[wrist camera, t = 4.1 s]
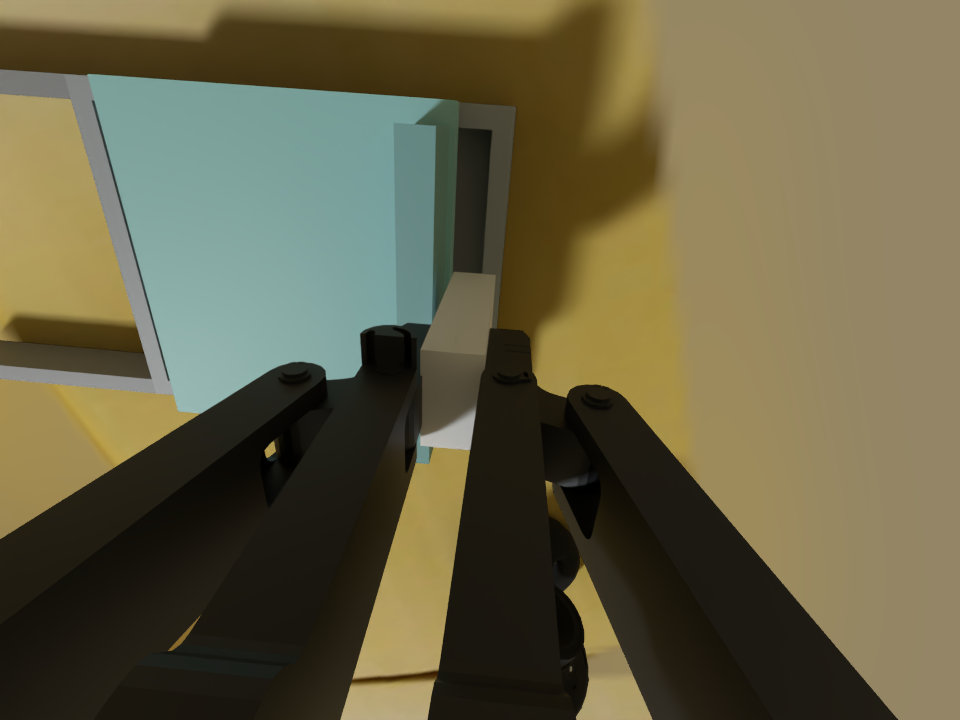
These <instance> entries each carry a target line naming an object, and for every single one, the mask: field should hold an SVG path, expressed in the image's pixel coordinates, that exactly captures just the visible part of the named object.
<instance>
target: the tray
mask: <svg viewBox="0 0 960 720" xmlns="http://www.w3.org/2000/svg"><path fill="white" fill-rule="evenodd" d="M0 94H10V95H24V96H37V97H51V98H65V99H71V101H72V105H73V108H74V112H75V115H76V118H77V122H78V125H79V129H80V132H81V136H82V139H83V143H84V146H85V150H86V153H87V156H88V160H89V163H90V167H91V170H92V174H93V177H94V181H95V184H96V188H97V191H98V194H99V198H100V201H101V205H102V208H103V212H104V215H105V219H106V222H107V226H108V229H109V232H110V236H111V239H112V243H113V246H114V250H115V253H116V257H117V260H118V264H119V267H120V270H121V274H122V277H123V281H124V284H125V288H126V291H127V295H128V298H129V302H130V305H131V308H132V312H133V315H134V319H135V322H136V326H137V329H138V333H139V336H140V340H141V343H142V346H143V350H144V353H135V352H124V351H113V350H102V349H90V348H79V347H68V346H57V345H46V344H35V343H24V342H13V341H2V340H0V379H8V380H18V381H29V382H39V383H50V384H61V385H71V386H82V387H93V388H104V389H114V390H125V391H136V392H147V393H157V394H168V395H174V394H173V390H172V386H171V382H170V379H169V375H168V371H167V368H166V364H165V360H164V357H163V353H162V349H161V345H160V342H159V338H158V334H157V331H156V327H155V323H154V320H153V316H152V312H151V308H150V305H149V301H148V297H147V294H146V290H145V286H144V282H143V279H142V275H141V271H140V268H139V264H138V260H137V257H136V253H135V249H134V245H133V242H132V238H131V234H130V231H129V227H128V223H127V219H126V216H125V212H124V208H123V205H122V201H121V197H120V194H119V190H118V186H117V182H116V179H115V175H114V171H113V168H112V164H111V160H110V156H109V153H108V149H107V145H106V142H105V138H104V134H103V131H102V127H101V123H100V119H99V116H98V112H97V108H96V105H95V101H94V97H93V94H92V90H91V86H90V82H89V79H88V76H86V75H72V74H58V73H44V72H30V71H16V70H2V69H0ZM515 117H516V106H503V105H489V104H476V103H462V102H459V126H458V151H457V176H456V201H455V226H454V251H453V273H454V272H464V273H477V274H490V275H496V277H495V290H494V303H493V316H492V328H496V329H497V320H498V309H499V298H500V286H501V275H502V264H503V252H504V241H505V230H506V219H507V207H508V196H509V185H510V173H511V162H512V151H513V140H514V128H515Z"/></svg>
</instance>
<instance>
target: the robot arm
mask: <svg viewBox="0 0 960 720" xmlns="http://www.w3.org/2000/svg"><path fill="white" fill-rule="evenodd" d="M495 277H496V275H490V274H477V273H464V272H454V273H453V275H452V277H451V280H450V282H449V284H448V287H447V289H446V291H445V294H444V296H443V298H442V301H441V303H440V305H439V308H438V310H437V312H436V315H435V317H434V319H433V322H432V324H431V325H430V324H418V323H406V324H404V325H402V326H398V325H380V326H373V327H371V328H368V329H365V330H364V331H362V332H361V333H360V344H361V359H362V366H361V367H360V369H359V370H358V372H357V374H356V375H355V377H352V378H345V379H334V380H326V371H325V369H324V368H323V367H322V366H320V365H317V364H314V363H307V362H290V363H288V364H285V365H280V366H278V367H276V368H274V369H272V370H270V371H268V372H267V373H265V374H263V375H262V376H260V377H259V378H257V379H255V380H254V381H252V382H251V383H249V384H247V385H246V386H244V387H243V388H241V389H239V390H238V391H236V392H235V393H233V394H231V395H230V396H228V397H227V398H225V399H223V400H222V401H220V402H219V403H217V404H215V405H214V406H212V407H211V408H209V409H207V410H206V411H204V412H203V413H201V414H199V415H198V416H196V417H195V418H193V419H191V420H190V421H188V422H187V423H185V424H183V425H182V426H180V427H179V428H177V429H176V430H174V431H172V432H171V433H169V434H168V435H166V436H164V437H163V438H161V439H160V440H158V441H156V442H155V443H153V444H152V445H150V446H148V447H147V448H145V449H144V450H142V451H140V452H139V453H137V454H136V455H134V456H132V457H131V458H129V459H128V460H126V461H124V462H123V463H121V464H120V465H118V466H116V467H115V468H113V469H112V470H110V471H108V472H107V473H105V474H104V475H102V476H100V477H99V478H97V479H96V480H94V481H92V482H91V483H89V484H88V485H86V486H85V487H83V488H81V489H80V490H78V491H76V492H75V493H74V494H72V495H70V496H69V497H67V498H65V499H64V500H62V501H61V502H59V503H57V504H56V505H54V506H53V507H51V508H49V509H48V510H46V511H45V512H43V513H41V514H40V515H38V516H37V517H35V518H34V519H32V520H30V521H29V522H27V523H25V524H24V525H23V526H21V527H19V528H18V529H16V530H14V531H13V532H11V533H10V534H8V535H6V536H5V537H3V538H2V539H0V720H340V719H341V716H342V712H343V709H344V705H345V702H346V699H347V695H348V692H349V688H350V685H351V681H352V678H353V675H354V671H355V668H356V664H357V661H358V658H359V654H360V651H361V647H362V644H363V641H364V637H365V634H366V630H367V627H368V623H369V620H370V617H371V613H372V610H373V606H374V603H375V600H376V596H377V593H378V589H379V586H380V582H381V579H382V576H383V572H384V569H385V565H386V562H387V559H388V555H389V552H390V548H391V545H392V542H393V538H394V535H395V531H396V528H397V524H398V521H399V518H400V514H401V511H402V507H403V504H404V501H405V497H406V494H407V490H408V487H409V483H410V480H411V477H412V473H413V470H414V466H415V463H416V460H417V440H418V437H419V433H420V446H430V447H441V448H452V449H463V450H470V455H469V462H468V469H467V476H466V483H465V490H464V497H463V504H462V511H461V518H460V525H459V532H458V539H457V546H456V553H455V560H454V567H453V574H452V581H451V588H450V595H449V602H448V609H447V616H446V623H445V630H444V637H443V644H442V651H441V658H440V665H439V671H438V676H437V679H436V680H435V682H434V687H433V691H432V696H431V702H430V708H429V714H428V720H576V715H575V709H574V706H573V702H572V699H571V697H570V696H569V695H568V694H567V693H565V691H564V687H563V682H562V674H561V663H560V651H559V639H558V627H557V615H556V603H555V591H554V579H553V567H552V555H551V543H550V531H549V519H548V507H547V495H546V483H545V480H546V481H549V482H552V483H553V484H552V487H553V493H554V495H555V498H556V500H557V502H558V504H559V507H560V509H561V511H562V514H563V516H564V518H565V520H566V523H567V525H568V527H569V530H570V532H571V534H572V536H573V539H574V541H575V543H576V546H577V548H578V550H579V552H580V555H581V557H582V559H583V562H584V564H585V566H586V568H587V571H588V573H589V575H590V578H591V580H592V582H593V584H594V587H595V589H596V591H597V594H598V596H599V598H600V600H601V603H602V605H603V607H604V610H605V612H606V614H607V616H608V619H609V621H610V623H611V625H612V628H613V630H614V632H615V635H616V637H617V639H618V641H619V644H620V646H621V648H622V651H623V653H624V655H625V657H626V660H627V662H628V664H629V667H630V669H631V671H632V673H633V676H634V678H635V680H636V683H637V685H638V687H639V689H640V692H641V694H642V696H643V699H644V701H645V703H646V705H647V708H648V710H649V712H650V715H651V717H652V719H653V720H898V719H897V718H896V717H895V716H894V714H893V713H892V712H891V711H890V710H889V709H888V707H887V706H886V705H885V704H884V703H883V701H882V700H881V699H880V698H879V697H878V696H877V694H876V693H875V692H874V691H873V690H872V688H871V687H870V686H869V685H868V684H867V683H866V682H865V680H864V679H863V678H862V677H861V676H860V674H859V673H858V672H857V671H856V670H855V668H854V667H853V666H852V665H851V664H850V663H849V661H848V660H847V659H846V658H845V657H844V656H843V654H842V653H841V652H840V651H839V650H838V648H837V647H836V646H835V645H834V644H833V643H832V641H831V640H830V639H829V638H828V637H827V635H826V634H825V633H824V632H823V631H822V630H821V628H820V627H819V626H818V625H817V624H816V623H815V621H814V620H813V619H812V618H811V617H810V615H809V614H808V613H807V612H806V611H805V609H804V608H803V607H802V606H801V605H800V604H799V602H798V601H797V600H796V599H795V598H794V597H793V595H792V594H791V593H790V592H789V591H788V589H787V588H786V587H785V586H784V585H783V584H782V582H781V581H780V580H779V579H778V578H777V577H776V575H775V574H774V573H773V572H772V571H771V570H770V568H769V567H768V566H767V565H766V564H765V562H764V561H763V560H762V559H761V558H760V557H759V555H758V554H757V553H756V552H755V551H754V550H753V548H752V547H751V546H750V545H749V543H748V542H747V541H746V540H745V539H744V538H743V536H742V535H741V534H740V533H739V532H738V531H737V529H736V528H735V527H734V526H733V525H732V523H731V522H730V521H729V520H728V519H727V518H726V517H725V515H724V514H723V513H722V512H721V511H720V509H719V508H718V507H717V506H716V505H715V504H714V502H713V501H712V500H711V499H710V498H709V496H708V495H707V494H706V493H705V492H704V490H703V489H702V488H701V487H700V486H699V485H698V483H697V482H696V481H695V480H694V479H693V477H692V476H691V475H690V474H689V473H688V472H687V470H686V469H685V468H684V467H683V466H682V464H681V463H680V462H679V461H678V460H677V459H676V457H675V456H674V455H673V454H672V453H671V452H670V450H669V449H668V448H667V447H666V446H665V444H664V443H663V442H662V441H661V440H660V439H659V437H658V436H657V435H656V434H655V433H654V431H653V430H652V429H651V428H650V427H649V426H648V424H647V423H646V422H645V421H644V420H643V419H642V417H641V416H640V415H639V414H638V413H637V411H636V410H635V409H634V408H633V407H632V406H631V404H630V403H629V402H628V401H627V400H626V398H624V397H623V396H622V395H621V394H620V393H618V392H616V391H614V390H612V389H610V388H608V387H605V386H601V385H580V386H576V387H574V388H572V389H570V391H569V393H568V395H567V398H565V397H561V396H558V395H555V394H552V393H549V392H547V391H545V390H543V389H541V388H540V387H539V386H537V379H536V377H535V375H534V374H533V373H532V361H531V348H530V338H529V337H528V336H527V335H526V334H525V333H524V332H523V331H520V330H508V329H496V328H492V316H493V303H494V290H495ZM273 441H274V443H275V449H276V452H275V453H274V454H273V455H271V456H270V457H268V458H266V456H265V451H264V450H265V449H266V448H267V447H268V445H269V444H270V443H271V442H273ZM201 614H202V615H201ZM200 615H201V616H200ZM199 616H200V618H199V619H198V621H197V622H196V624H195V625H194V627H193V629H192V630H191V632H190V633H189V635H188V636H187V637H186V639H185V640H184V641H183V642H182V644H181V645H179V646H178V647H177V648H175V649H174V650H173V651H168V650H169V649H170V648H171V646H172V645H173V644H174V643H175V642H176V641H177V640H178V639H179V638H180V637H181V636H182V635H183V633H184V632H185V631H186V630H187V629H188V628H189V627H190V626H191V625H192V624H193V623H194V622H195V621H196V619H197V618H198V617H199Z"/></svg>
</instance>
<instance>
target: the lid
mask: <svg viewBox="0 0 960 720" xmlns="http://www.w3.org/2000/svg"><path fill="white" fill-rule="evenodd" d="M87 75H88V79H89V82H90V86H91V90H92V94H93V97H94V101H95V105H96V108H97V112H98V116H99V119H100V123H101V127H102V131H103V134H104V138H105V142H106V145H107V149H108V153H109V156H110V160H111V164H112V168H113V171H114V175H115V179H116V182H117V186H118V190H119V194H120V197H121V201H122V205H123V208H124V212H125V216H126V219H127V223H128V227H129V231H130V234H131V238H132V242H133V245H134V249H135V253H136V257H137V260H138V264H139V268H140V271H141V275H142V279H143V282H144V286H145V290H146V294H147V297H148V301H149V305H150V308H151V312H152V316H153V320H154V323H155V327H156V331H157V334H158V338H159V342H160V345H161V349H162V353H163V357H164V360H165V364H166V368H167V371H168V375H169V379H170V382H171V386H172V390H173V394H174V397H175V401H176V405H177V408H178V411H181V412H192V413H203V412H204V411H206V410H207V409H209V408H211V407H212V406H214V405H215V404H217V403H219V402H220V401H222V400H223V399H225V398H227V397H228V396H230V395H231V394H233V393H235V392H236V391H238V390H239V389H241V388H243V387H244V386H246V385H247V384H249V383H251V382H252V381H254V380H255V379H257V378H259V377H260V376H262V375H263V374H265V373H267V372H268V371H270V370H272V369H274V368H276V367H278V366H280V365H285V364H288V363H290V362H307V363H314V364H317V365H320V366H322V367H323V368H324V369H325V371H326V380H334V379H345V378H352V377H355V375H356V374H357V372H358V370H359V369H360V367H361V366H362V359H361V344H360V333H361V332H362V331H364V330H365V329H368V328H371V327H373V326H380V325H398V326H402V325H404V324H406V323H418V324H430V325H431V324H432V322H433V319H434V317H435V315H436V312H437V310H438V308H439V305H440V303H441V301H442V298H443V296H444V294H445V291H446V289H447V287H448V284H449V282H450V280H451V277H452V275H453V251H454V226H455V201H456V176H457V151H458V126H459V101H457V100H446V99H432V98H418V97H404V96H390V95H376V94H362V93H348V92H334V91H321V90H307V89H293V88H279V87H265V86H251V85H237V84H223V83H209V82H195V81H181V80H167V79H153V78H139V77H125V76H111V75H97V74H87ZM432 450H433V447H430V446H420V433H419V437H418V440H417V460H416V463H424V464H429V462H430V458H431V454H432Z"/></svg>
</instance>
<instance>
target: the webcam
mask: <svg viewBox="0 0 960 720" xmlns="http://www.w3.org/2000/svg"><path fill="white" fill-rule="evenodd" d="M548 519H549V531H550V543H551V555H552V566H553V565H554V564H555V565H554V567H553V579H554V591H555V603H556V615H557V627H558V639H559V651H560V663H561V674H562V682H563V687H564V691H565V693H567V694H568V695H569V696H570V697H571V699H572V702H573V706H574V709H575V715H576V716H577V714H578V713H579V711H580V710H581V708H582V705H583V702H584V700H585V697H586V692H587V687H588V682H589V678H588V663H587V657H586V652H585V648H584V645H583V644H584V628H583V625H582V621H581V617H580V615H579V613H578V611H577V609H576V607H575V606H574V604H573V603H572V601H571V600H570V599H569V597H568V596H567V595H566V594H565V593H564V592H563V591H564V590H565V589H566V588H567V587H568V586H569V585H570V584H571V583H572V582H573V580H574V579H575V577H576V575H577V573H578V569H579V565H580V556H579V552H578V548H577V546H576V543H575V541H574V539H573V536H572V534H571V533H570V532H569V531H568V530H567V529H566V528H565V527H564V526H563V525H561V524H560V523H559V522H557V521H556V520H554V519H552V518H550V517H548ZM555 562H556V563H555Z"/></svg>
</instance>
